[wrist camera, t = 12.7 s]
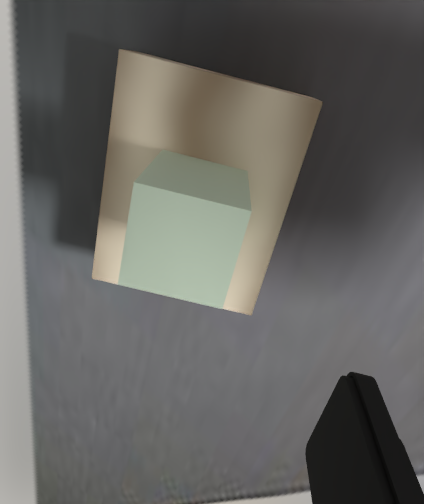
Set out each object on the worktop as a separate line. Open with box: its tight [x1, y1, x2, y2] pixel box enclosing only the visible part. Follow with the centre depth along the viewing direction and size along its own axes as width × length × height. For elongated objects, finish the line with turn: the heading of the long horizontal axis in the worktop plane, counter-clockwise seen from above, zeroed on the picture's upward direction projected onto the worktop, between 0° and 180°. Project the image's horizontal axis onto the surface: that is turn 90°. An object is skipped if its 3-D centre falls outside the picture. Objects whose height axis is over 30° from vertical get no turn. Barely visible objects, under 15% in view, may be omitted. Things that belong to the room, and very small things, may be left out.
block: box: [118, 150, 252, 309], centre depth 21 cm, size 5×5×7 cm
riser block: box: [92, 49, 323, 315], centre depth 26 cm, size 11×14×4 cm
